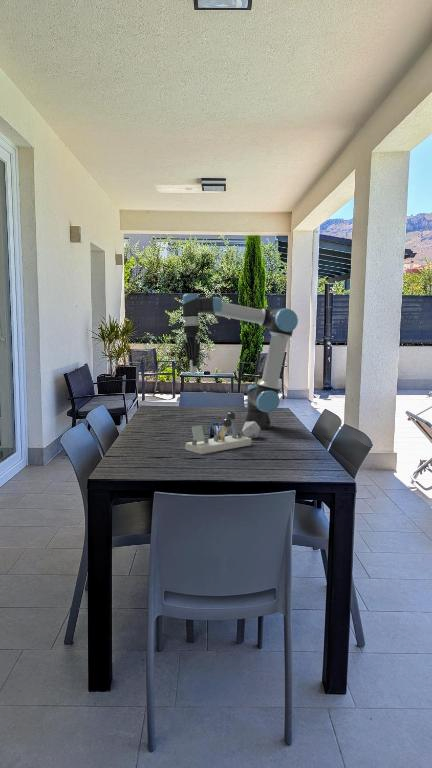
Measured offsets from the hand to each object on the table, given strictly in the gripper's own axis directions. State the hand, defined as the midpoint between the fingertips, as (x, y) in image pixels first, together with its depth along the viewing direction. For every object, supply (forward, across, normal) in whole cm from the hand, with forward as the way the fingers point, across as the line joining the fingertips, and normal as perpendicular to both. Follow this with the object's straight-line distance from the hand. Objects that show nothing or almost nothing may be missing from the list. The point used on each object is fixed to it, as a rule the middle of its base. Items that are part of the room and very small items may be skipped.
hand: (193, 372), depth 276 cm
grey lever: (+30, +28, +4) cm, 41 cm away
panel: (+33, +29, -7) cm, 44 cm away
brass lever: (+30, +30, -6) cm, 42 cm away
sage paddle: (+29, +31, -17) cm, 46 cm away
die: (+33, +20, +19) cm, 43 cm away
